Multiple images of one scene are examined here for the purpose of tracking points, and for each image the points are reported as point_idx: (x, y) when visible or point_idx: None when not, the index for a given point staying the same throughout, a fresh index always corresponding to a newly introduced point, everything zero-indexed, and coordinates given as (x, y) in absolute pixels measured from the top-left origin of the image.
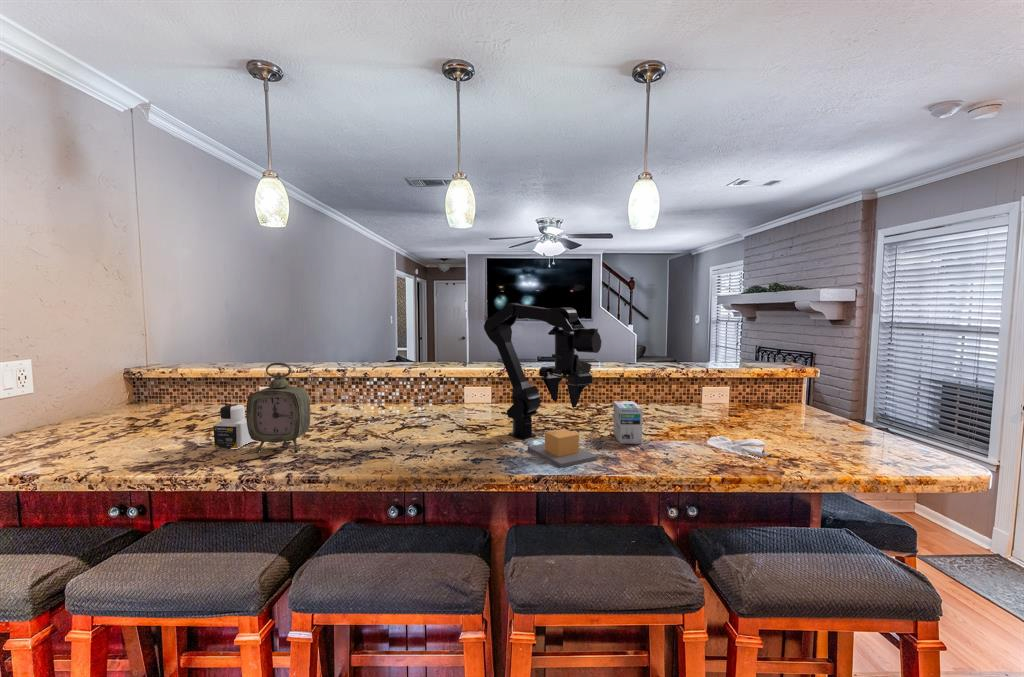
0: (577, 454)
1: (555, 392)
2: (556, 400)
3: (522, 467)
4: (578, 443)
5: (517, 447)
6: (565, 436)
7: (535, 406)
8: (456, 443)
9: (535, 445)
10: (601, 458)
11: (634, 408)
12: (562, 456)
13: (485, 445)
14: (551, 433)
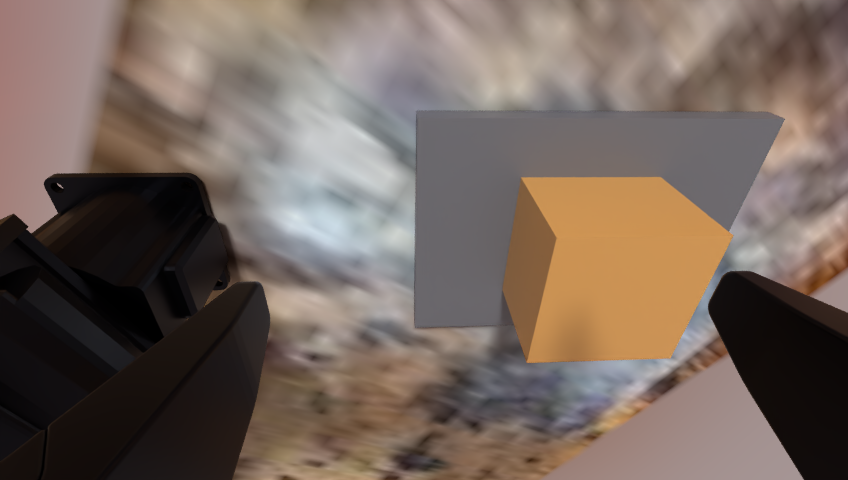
0: None
1: (204, 432)
2: (259, 296)
3: (564, 395)
4: (691, 205)
5: (352, 330)
6: (683, 320)
7: (107, 353)
8: None
9: (417, 292)
10: (776, 77)
11: None
12: None
13: (266, 407)
14: (576, 349)
